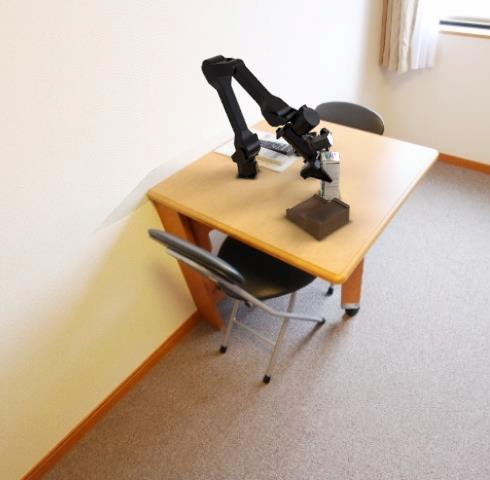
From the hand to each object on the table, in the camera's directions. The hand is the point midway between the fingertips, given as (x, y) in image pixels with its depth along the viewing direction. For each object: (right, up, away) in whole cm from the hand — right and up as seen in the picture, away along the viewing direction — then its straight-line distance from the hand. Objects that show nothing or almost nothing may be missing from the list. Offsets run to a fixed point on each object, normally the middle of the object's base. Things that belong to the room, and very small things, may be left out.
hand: (333, 175), depth 112 cm
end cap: (-10, +15, +29) cm, 34 cm away
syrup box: (-1, -6, +6) cm, 8 cm away
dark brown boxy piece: (-5, -14, -4) cm, 16 cm away
